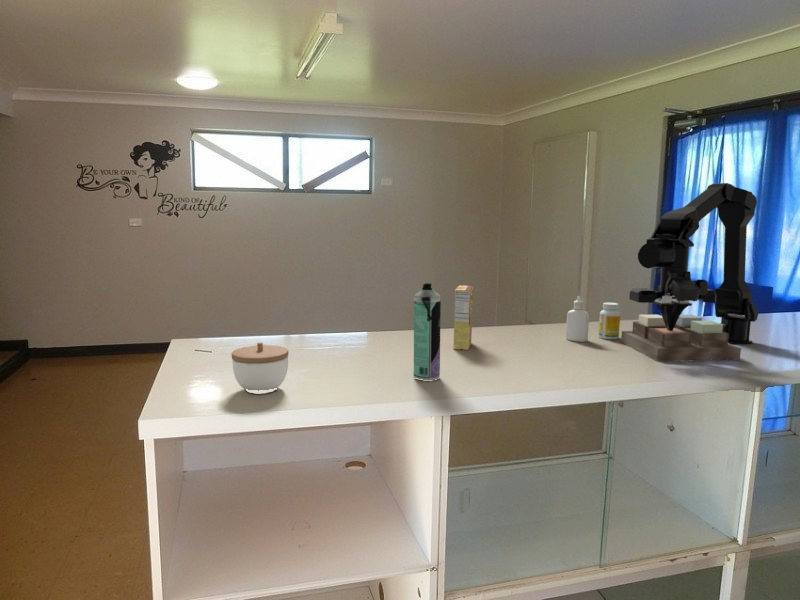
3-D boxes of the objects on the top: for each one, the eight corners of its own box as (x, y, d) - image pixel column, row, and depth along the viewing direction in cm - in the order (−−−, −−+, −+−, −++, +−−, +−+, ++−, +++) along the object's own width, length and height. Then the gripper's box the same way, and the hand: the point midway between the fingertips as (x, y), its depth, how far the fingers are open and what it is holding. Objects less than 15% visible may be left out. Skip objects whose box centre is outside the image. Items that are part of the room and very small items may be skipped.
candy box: (456, 342, 157) (457, 285, 155) (472, 342, 156) (473, 285, 154) (453, 349, 149) (454, 289, 146) (469, 350, 148) (471, 290, 145)
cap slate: (690, 325, 154) (691, 314, 154) (701, 329, 149) (702, 317, 149) (672, 325, 154) (672, 314, 154) (681, 329, 149) (682, 317, 149)
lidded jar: (268, 401, 108) (266, 351, 107) (221, 394, 112) (219, 346, 111) (299, 385, 118) (298, 339, 116) (255, 379, 122) (254, 335, 120)
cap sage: (709, 332, 145) (711, 320, 145) (721, 336, 140) (722, 324, 140) (690, 332, 145) (691, 320, 145) (701, 337, 140) (702, 324, 140)
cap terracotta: (673, 340, 145) (674, 328, 145) (684, 344, 140) (685, 332, 140) (653, 340, 145) (654, 328, 145) (663, 344, 140) (664, 332, 140)
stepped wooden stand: (694, 341, 158) (695, 319, 157) (739, 360, 138) (742, 335, 137) (621, 342, 157) (622, 320, 156) (656, 361, 138) (658, 335, 137)
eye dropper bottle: (576, 337, 163) (578, 294, 161) (590, 341, 158) (592, 297, 156) (563, 338, 161) (565, 295, 160) (577, 343, 156) (579, 298, 155)
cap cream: (657, 325, 154) (657, 314, 153) (666, 329, 149) (667, 317, 149) (638, 325, 154) (639, 314, 153) (647, 329, 149) (647, 318, 148)
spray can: (443, 380, 121) (444, 284, 118) (418, 382, 120) (419, 285, 117) (434, 373, 127) (435, 281, 124) (410, 375, 125) (410, 282, 122)
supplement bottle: (594, 337, 164) (596, 303, 162) (605, 334, 167) (607, 301, 165) (612, 340, 159) (614, 305, 158) (622, 337, 163) (624, 303, 161)
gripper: (651, 269, 132) (647, 338, 134) (733, 269, 132) (727, 337, 135) (630, 265, 143) (626, 328, 145) (705, 264, 143) (700, 327, 146)
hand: (669, 330), depth 142 cm, fingers closed, pressing on cap terracotta
